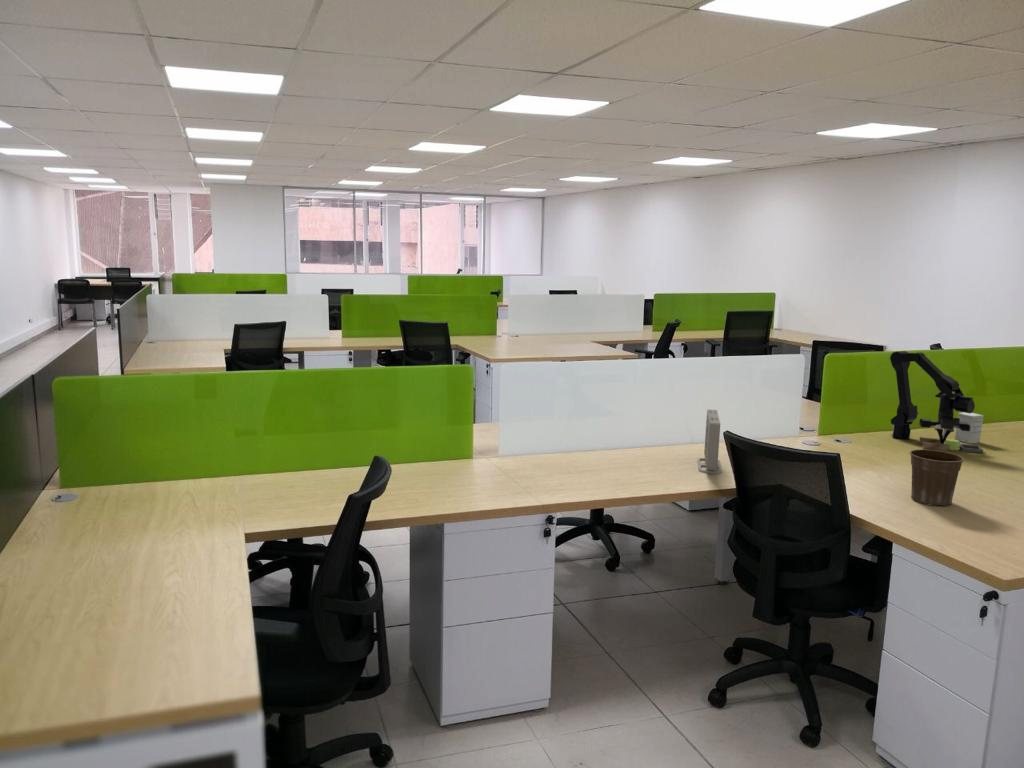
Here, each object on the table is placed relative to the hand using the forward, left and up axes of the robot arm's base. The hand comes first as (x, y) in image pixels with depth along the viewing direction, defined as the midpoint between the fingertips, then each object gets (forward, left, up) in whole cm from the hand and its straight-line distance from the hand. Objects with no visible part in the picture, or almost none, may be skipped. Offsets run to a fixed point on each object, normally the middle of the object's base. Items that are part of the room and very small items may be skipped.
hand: (941, 444), depth 338 cm
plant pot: (-16, -84, -2) cm, 86 cm away
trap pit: (+11, 0, -2) cm, 11 cm away
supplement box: (+13, +18, -2) cm, 22 cm away
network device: (-91, -72, -2) cm, 116 cm away
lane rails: (-3, 0, -2) cm, 3 cm away
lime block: (+4, 0, -2) cm, 4 cm away
